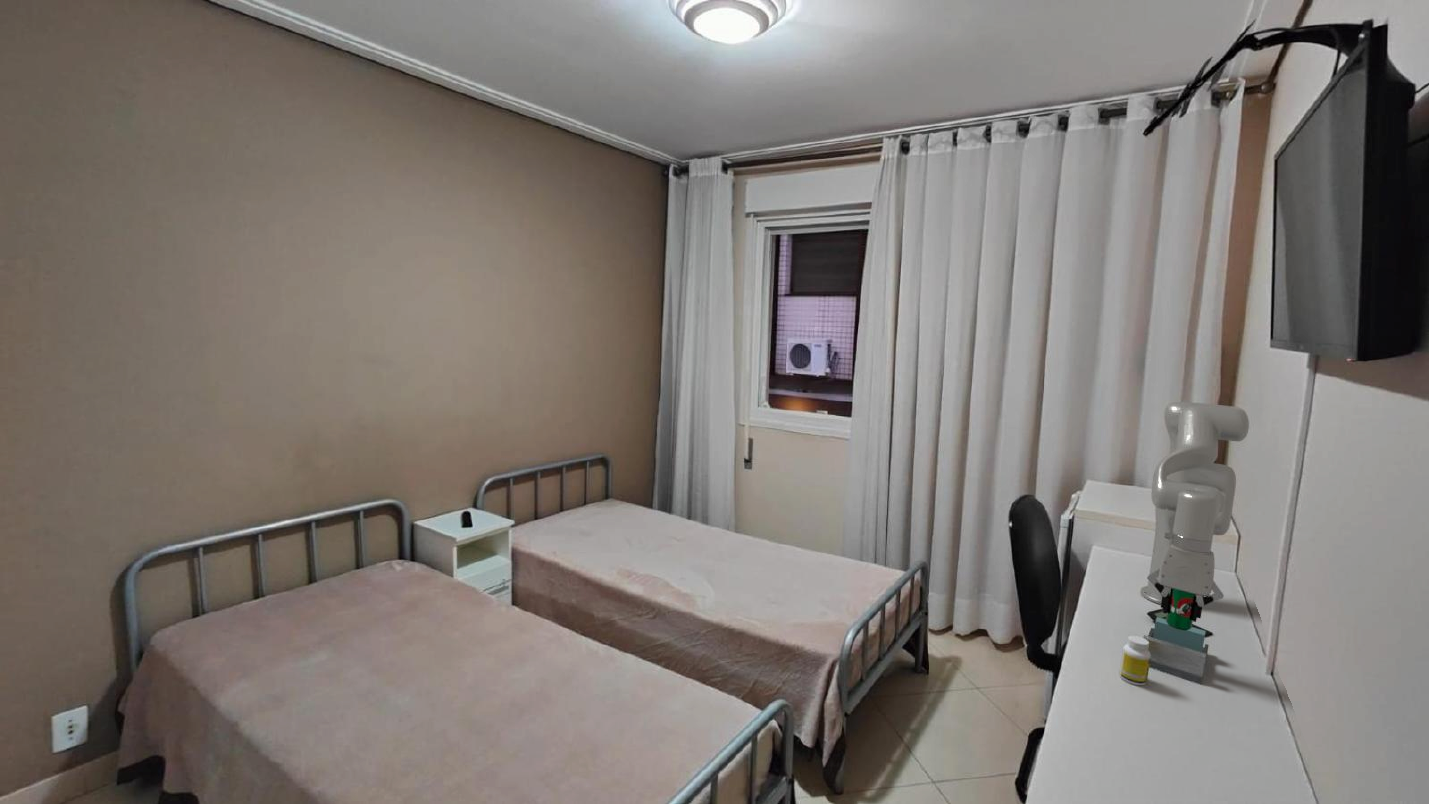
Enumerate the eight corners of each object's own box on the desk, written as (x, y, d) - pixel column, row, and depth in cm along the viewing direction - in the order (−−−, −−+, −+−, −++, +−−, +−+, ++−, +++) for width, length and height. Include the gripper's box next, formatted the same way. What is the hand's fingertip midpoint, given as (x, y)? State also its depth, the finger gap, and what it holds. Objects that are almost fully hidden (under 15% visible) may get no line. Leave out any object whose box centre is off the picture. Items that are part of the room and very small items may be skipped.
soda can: (1196, 629, 152) (1203, 581, 150) (1182, 632, 150) (1190, 584, 148) (1173, 619, 156) (1181, 573, 154) (1160, 622, 154) (1167, 575, 152)
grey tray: (1150, 636, 167) (1153, 613, 166) (1207, 654, 160) (1211, 629, 159) (1139, 663, 154) (1142, 638, 153) (1200, 684, 146) (1205, 658, 145)
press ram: (1154, 635, 165) (1157, 617, 164) (1202, 649, 158) (1205, 631, 158) (1152, 639, 163) (1155, 621, 162) (1201, 654, 156) (1204, 635, 155)
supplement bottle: (1150, 688, 144) (1156, 648, 142) (1123, 683, 145) (1128, 643, 144) (1142, 675, 149) (1148, 636, 147) (1115, 670, 151) (1121, 632, 149)
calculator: (1190, 642, 166) (1192, 631, 166) (1145, 621, 176) (1146, 611, 176) (1212, 635, 170) (1214, 625, 169) (1166, 615, 180) (1168, 605, 180)
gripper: (1145, 537, 153) (1135, 608, 155) (1236, 557, 142) (1224, 634, 144) (1150, 530, 158) (1140, 599, 161) (1238, 548, 147) (1226, 622, 150)
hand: (1179, 614), depth 152 cm, fingers closed on soda can, 5 cm apart
